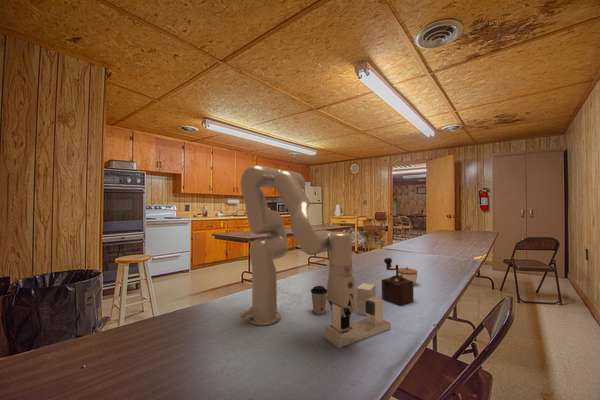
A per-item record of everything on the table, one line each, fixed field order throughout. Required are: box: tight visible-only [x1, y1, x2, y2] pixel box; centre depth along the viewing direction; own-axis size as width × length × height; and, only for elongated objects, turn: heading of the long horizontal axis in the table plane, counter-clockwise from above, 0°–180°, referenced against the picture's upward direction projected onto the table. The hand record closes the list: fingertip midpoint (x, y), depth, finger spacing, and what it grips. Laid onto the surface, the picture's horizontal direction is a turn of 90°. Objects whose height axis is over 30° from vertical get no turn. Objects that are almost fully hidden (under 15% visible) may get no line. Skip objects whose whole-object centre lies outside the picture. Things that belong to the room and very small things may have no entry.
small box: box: [356, 282, 376, 316], centre depth 110 cm, size 8×6×10 cm
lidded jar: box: [398, 266, 418, 285], centre depth 147 cm, size 11×11×9 cm
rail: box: [323, 296, 392, 349], centre depth 91 cm, size 24×8×10 cm, turn 122°
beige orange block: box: [331, 303, 352, 332], centre depth 88 cm, size 5×4×8 cm
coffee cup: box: [310, 285, 327, 315], centre depth 110 cm, size 7×7×10 cm
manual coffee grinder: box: [381, 257, 415, 307], centre depth 125 cm, size 16×11×18 cm
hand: (340, 324), depth 87 cm, fingers closed on beige orange block, 3 cm apart
